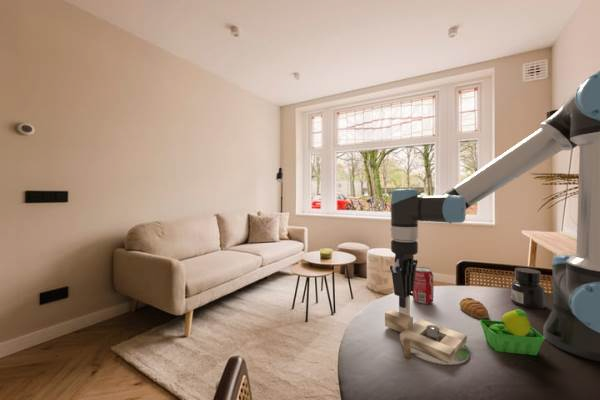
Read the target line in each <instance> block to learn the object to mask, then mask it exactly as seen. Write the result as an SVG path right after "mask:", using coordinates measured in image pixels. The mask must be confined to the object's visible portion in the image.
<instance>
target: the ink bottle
mask: <svg viewBox="0 0 600 400" xmlns="http://www.w3.org/2000/svg"><path fill="white" fill-rule="evenodd" d="M541 275H542V274H541V271H540V270H537V269H534V268H526V267H515V268H514V279H515V280H514V281H512V282H511V285H510V286H511V287H510V288H511V290H510V292H511V293H510V294H511V295H510V300H511V302H512V303H513V304H515V305H517V306H520V307H524V308H528V309H534V310H540V309H544V308H545V292H546V291H545V288H544V287H543V285H541V277H542V276H541Z"/></svg>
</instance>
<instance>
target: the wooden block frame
mask: <svg viewBox="0 0 600 400" xmlns="http://www.w3.org/2000/svg"><path fill="white" fill-rule="evenodd" d="M428 325H433V326H436V327H438V328H439V334H440V340H441V341H440V342H437V341H435V340H432V339H430V338H427V337H425V336H427V326H428ZM384 326H385V327H387V328H389V329H392V330H394V331H397V332H399V342H400V343H401V342H402V343H403V339H404V338H408V339H410V340H411V347H414V348H416V349H418V350H421V351H423V352H425V353H427V354H430V355H432V356H434V357H437V358H439V359H441V360H443V361H446V362H448V363H450V362H451V361H452V360H453V358H454V357H455V356H456V355H457V354H458V352H459V351H460V350H461V349H462V348H463V347H464V345H467V343H468V341H467V339H468V338H467V334H465V333H462V332H458V331H456V330H453V329H449V328H448V327H444V326H442V325H440V324H439V325H438V324H436V323H433V322H430V321H427V320H424V319H421V318H420V319H418V320H417V321H416V322H414V317H413V316H411V315H410V316H408V315H405V314H402V313H399V311H396V310H393V309H390V308H389V310H387V311H384Z"/></svg>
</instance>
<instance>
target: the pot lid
mask: <svg viewBox="0 0 600 400" xmlns="http://www.w3.org/2000/svg"><path fill="white" fill-rule="evenodd" d="M425 337H427V338H430V339H432V340H435V341H437V342H440V341H441V340H440V334H439V328H438V327H436V326H433V325H428V326H427V336H425ZM400 345H401V346H402V348H404V344H403V343H402V342H400ZM411 356H414V357H415V358H417V359H419V360H422V361H423V362H427V363H430V364H434V365H437V366H447V367H449V366H452V367H453V366H461V365H463V364H465V363H466V362H467V361H468V360H469V358H470V350H469V346H467V344H465V345H464V347H463V348H462V349H461V350H460V351H459V352H458V354H457V355H456V356H455V357H454V358H453V360H452V361H451V362H450V363H448V362H446V361H443V360H441V359H439V358H437V357H434V356H432V355H430V354H427V353H425V352H423V351H421V350H418V349H416V348H414V347H411Z"/></svg>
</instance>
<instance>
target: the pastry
mask: <svg viewBox="0 0 600 400" xmlns="http://www.w3.org/2000/svg"><path fill="white" fill-rule="evenodd" d="M459 307H460V310H461V311H463V312H464V313H465V314H466V315H469V316H471V317H473V318H477V319H480V320H482V319H488V317H489V316H490V314H489V311H488V309H487V308H486V306H485V305H484V304H483V303H482V302H480V301H479V300H475V298H471V297H466V298H463V299H462V300H460V302H459Z"/></svg>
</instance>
